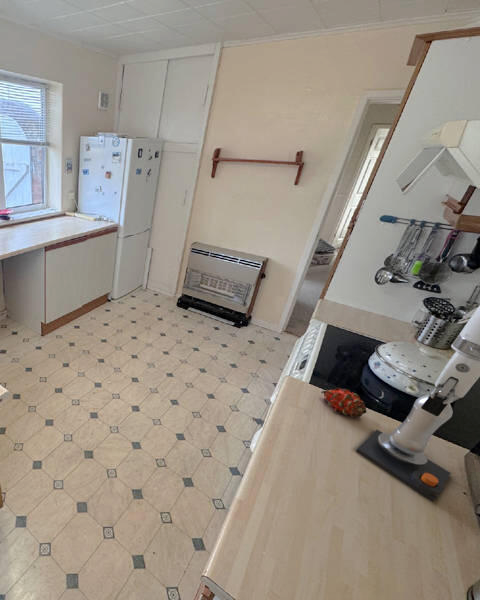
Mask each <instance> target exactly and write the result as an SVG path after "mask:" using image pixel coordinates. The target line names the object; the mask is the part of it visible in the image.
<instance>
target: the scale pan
mask: <svg viewBox="0 0 480 600" xmlns="http://www.w3.org/2000/svg"><path fill="white" fill-rule="evenodd" d="M391 433H392V432H382V434H380V435H379V437H378V442H379V444H380V445H381V447H382V448H383V449H384V450H385V451H386V452H388V453H389V454H390V455H392V456H393V457H395V458H396V459H398V460H400V461H402V462H404V463H407V464H410V465H413V466H423V465H425V464H426V463H427V459H428V457H427V454H426V453H425V452H424V451H422V452H421V453H420V454H408V453H406V452H403V451H401V450H400V449H398V448H397V447H395V446H394V445H393V444H392V442H391V440H390V435H391Z"/></svg>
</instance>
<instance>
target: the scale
mask: <svg viewBox="0 0 480 600" xmlns="http://www.w3.org/2000/svg"><path fill="white" fill-rule="evenodd" d="M382 433H383V432H382V431H381V430H379V429H375V430H374V431H373V432H372V434H371V435H369V436H368V437H367V438H366V439H365V440H364V442H363V443H361V444H360V446H358V447H357V448H356V449H355V452H356V453H358V454H359V455H361V456H362V457H364V458H365V459H366V460H368V461H370V462H371V463H373V464H374V465H376V466H377V467H379V468H380V469H382V470H384V471H385V472H387V473H388V474H389V475H391V476H392V477H394V478H395V479H397V480H399V481H400V482H401V483H403V484H405V485H406V486H408V487H409V488H410V489H412V490H414V491H415V492H417V493H418V494H420V495H421V496H423V497H424V498H426V499H427V500H429V501H430V502H432V503H433V502H434V501H435V500H436V498H437V497H439V496H441V495H442V493H444V491H445V487H444V486H445V484H446V482H447V480H448V479H449V477H450V476H451V474H452V472H450V471H448V470H447V469H445V468H443V467H442V466H440V465H438V464H437V463H435V462H433V461H432V460H430V459H428V458H427V463H426V464H425V465H423V466H413V465H410V464H407V463H404V462H402V461H400V460H398V459H396V458H395V457H393V456H392V455H390V454H389V453H388V452H386V451H385V450H384V449H383V448H382V447H381V445H380V444H379V442H378V437H379V435H380V434H382ZM424 473H429V474H432V475H433V476H435V477H436V478H437V479H438V481H439V482H438V483H437V484H436V485H435V487H431V486H429V485H427V484H425V483H424V482H423V481H422V480H421V477H422V476H423V474H424Z"/></svg>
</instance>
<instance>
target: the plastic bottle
mask: <svg viewBox="0 0 480 600" xmlns="http://www.w3.org/2000/svg"><path fill="white" fill-rule="evenodd" d="M441 388H443V387H441ZM436 389H437V388H436V386H435V387H433V389H432V390H431V391H430V394H426V395H422V396H420V397H418V398H417V399H415V401H414V403H413V405H412V407H411V410H410V412H409V414H408V415H407V416H406V417H405V420H404V421H403V422H401V424H400V425H398V426H397V427H396V428H394V429H393V431H391V432H390V433H391V435H390V440H391V442H392V444H393V445H394V446H395V447H397V448H398V449H400V450H401V451H403V452H406V453H408V454H420V453H421V452H422V451H423V452H424V451H425V450H426V447H427V445H428V443H429V441H430V440H431V437H432V436H433V434H434V433H435V432H436V431H437V430H438V429H439V428H440V427H441V426H442V425H443V424H445V423H446V422H447V421H449V420H450V419H451V418H452V417H453V414H454V413H453V412H454V411H453V408H452V405H451V403H453V402H454V401H455V399H456V397H457V396H456V395H455V393H454V395H453V396H452V397H451V398H450V400H449V401H448V402H447V404H448V405H447V406H446V407H445V408H444V410H443V411H442V412H441V414H440V415H439V416H435V415H433V414H431V413H429V412H427V411H425V410H423V409H422V408H421V407H422V405H423V404H424V403H425V401H426V400H427V399H428V397H429V396H431V395H432V394H433V393H434V391H435V390H436ZM439 392H440V390H439ZM450 392H452V391H450ZM446 396H447V397H448V396H449V394H447V395H446ZM444 401H445V400H444Z"/></svg>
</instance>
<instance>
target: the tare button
mask: <svg viewBox="0 0 480 600" xmlns="http://www.w3.org/2000/svg"><path fill="white" fill-rule="evenodd" d="M421 480H422V481H423V482H424V483H425V484H427V485H429V486H431V487H435V485H436V484H437V483H438V482H439V481H438V479H437V478H436V477H435V476H433V475H432V474H429V473H424V474H423V476H422V477H421Z"/></svg>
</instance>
